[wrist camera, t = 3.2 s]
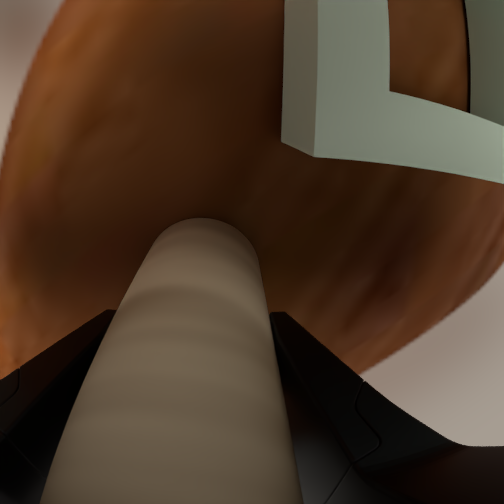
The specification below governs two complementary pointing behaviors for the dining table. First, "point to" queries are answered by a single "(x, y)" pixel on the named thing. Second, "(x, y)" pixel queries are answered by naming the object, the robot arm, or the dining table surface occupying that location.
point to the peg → (183, 386)
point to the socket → (387, 92)
